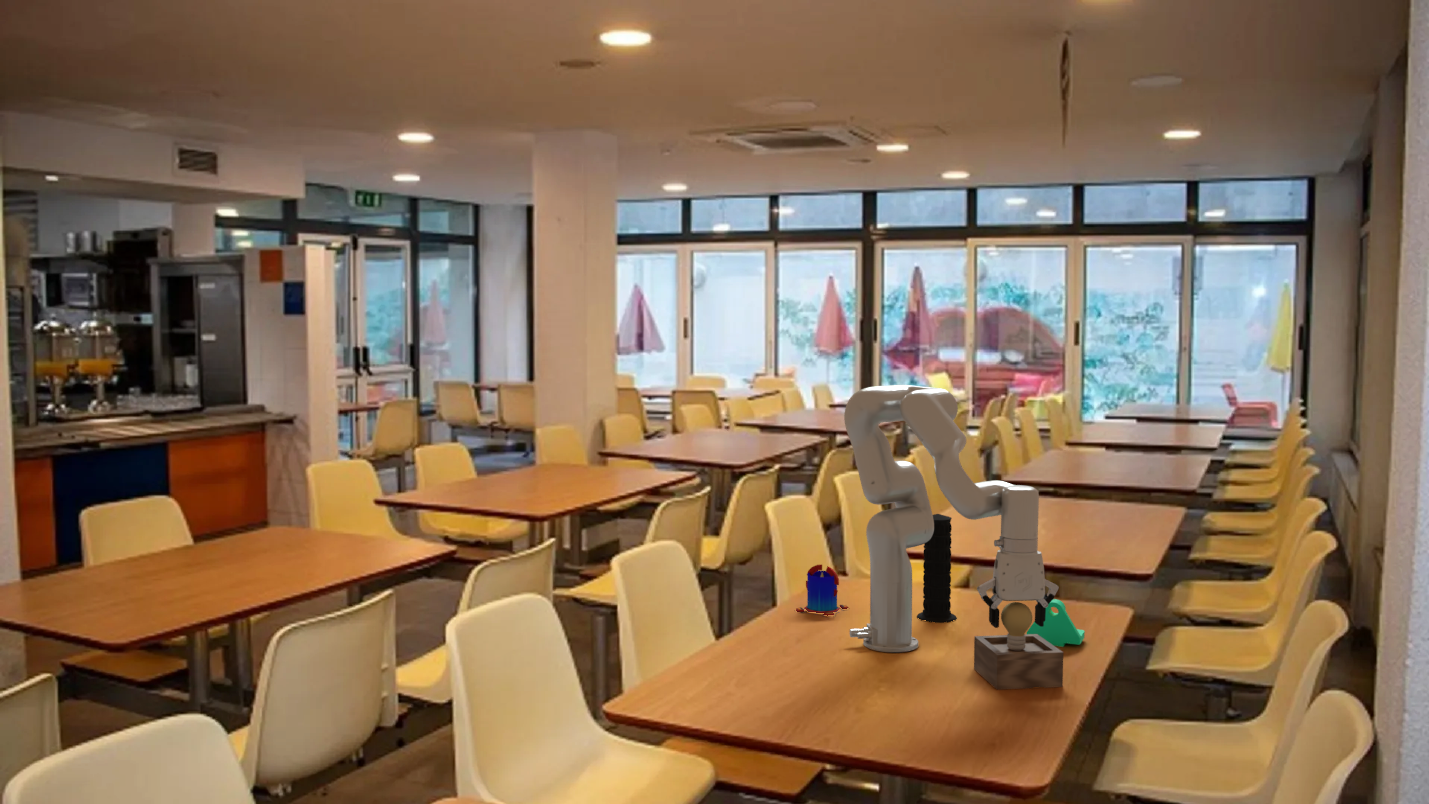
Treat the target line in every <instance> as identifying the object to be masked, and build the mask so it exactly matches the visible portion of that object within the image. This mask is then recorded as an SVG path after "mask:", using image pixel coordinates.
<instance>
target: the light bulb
mask: <svg viewBox="0 0 1429 804" xmlns="http://www.w3.org/2000/svg"><path fill="white" fill-rule="evenodd" d="M1031 610H1032V609H1030V608H1029V606H1028V605H1026V604H1025V603H1022V602H1021V601H1011V602H1010V603H1009V602H1008V603H1007V604H1006V605H1004V607H1003V608H1002V610H1001V614H1000V615H1001V616H1000V620H1001V624H1002V625H1003V626H1004V628H1005V629H1006V631H1007V632H1008V633H1007V634H1006V635H1007V638H1008V639H1007V642H1008V643H1007V647H1008V648H1009V649H1010V650H1014V651H1021V650H1023V649H1024V648H1025V635H1024V634H1026V633H1027V631H1028V630H1029V628H1030V627H1031V625H1032V624H1033V614H1032V611H1031Z"/></svg>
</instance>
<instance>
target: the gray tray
mask: <svg viewBox="0 0 1429 804" xmlns="http://www.w3.org/2000/svg"><path fill="white" fill-rule="evenodd" d="M1024 635H1025V648H1024V649H1023V650H1021V651H1014V650H1010V649H1009V648H1008V647H1007V643H1008V642H1007V639H1008V638H1007V634H1004V635H1002V634H1001V635H999V634H997V635H977V636H976V635H974V637H973V638H974V639H973V642H974V646H973V648H974V651H973V655H974V656H973V669H974V671H976V673H978V674H979V675H980V676H981V677H982V678H983V679H984V680H985V681H987V682H988V683H989V684H990V685H991V686H992V687H993V688H995V689H996V690H1013V689H1015V690H1016V689H1017V690H1019V689H1034V688H1033V687H1044V688H1063V687H1064V686H1063V685H1064V651H1062V650H1061V649H1060V648H1058V647H1057V646H1054V645H1052V644H1051V643H1049V642H1048V641H1046V640H1045V639H1043V638H1042V637H1041V636H1039V635H1038V634H1027V633H1025V634H1024Z"/></svg>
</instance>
